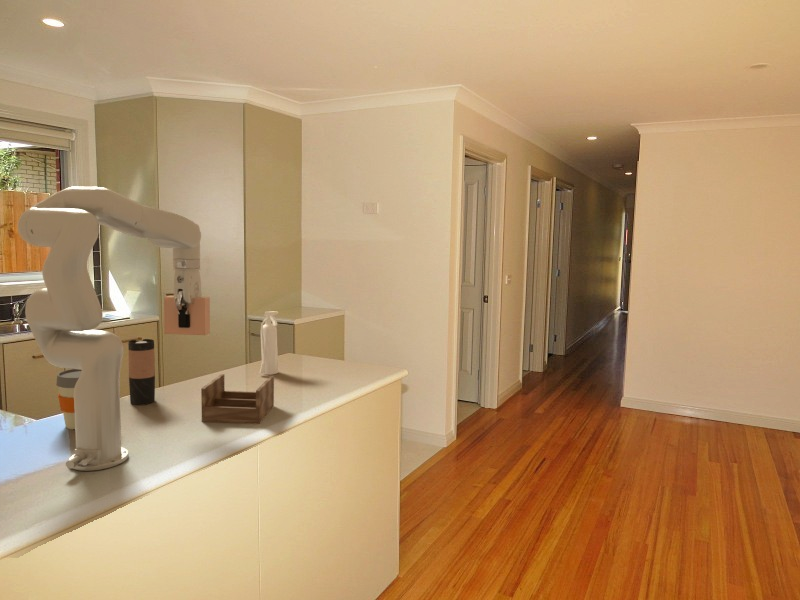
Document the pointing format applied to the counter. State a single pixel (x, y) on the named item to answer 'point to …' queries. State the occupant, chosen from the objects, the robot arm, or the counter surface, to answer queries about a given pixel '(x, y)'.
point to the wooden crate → (236, 403)
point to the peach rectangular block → (197, 317)
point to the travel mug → (141, 371)
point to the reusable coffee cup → (67, 394)
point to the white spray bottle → (269, 344)
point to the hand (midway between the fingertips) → (187, 325)
